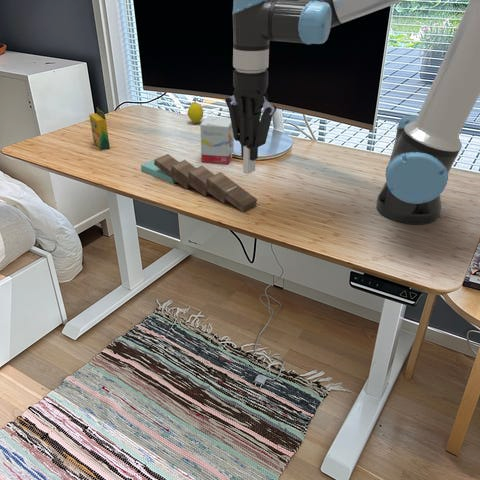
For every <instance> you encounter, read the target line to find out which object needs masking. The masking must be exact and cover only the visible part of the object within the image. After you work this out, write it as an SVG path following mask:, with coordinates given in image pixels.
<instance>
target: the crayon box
mask: <svg viewBox="0 0 480 480" xmlns="http://www.w3.org/2000/svg"><path fill="white" fill-rule="evenodd" d="M88 115H89V116H88V117H89V121H90V127H91V133H92V140H93V144H95V146H96V147H98V148H99V149H100V150H101V151H106V150H110V149H111V146H110V140H109V133H108V125H107V120H106V119H107V118H106V115H105V113H104V112H103V111H102V110H101V109H99V107H96V113H89V114H88Z"/></svg>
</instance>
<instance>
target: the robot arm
mask: <svg viewBox="0 0 480 480" xmlns="http://www.w3.org/2000/svg"><path fill="white" fill-rule="evenodd" d="M404 1H406V0H233V1H232V2H233V4H232V5H233V6H232V29H233V31H232V32H233V34H232V35H233V37H232V38H233V40H232V41H233V45H232V46H233V47H232V49H233V50H232V54H233V55H232V67H233V69H234V70H233V71H232V72H233V73H232V75H233V76H232V77H233V78H232V82H233V85H232V87H234V91H233V95H231V96H228V97H226V98H225V100H224V101H225V103H226V106H227V108H228V113H229V118H230V119H231V124H232V130H233V135H234V141H235V142H239V144H240V145H241V146H240V147H241V148H240V149H241V150H240V155H241V158H243V159H242V160H243V164H242V173H243V174H247V175H249V174H252V173H253V172H254V171H256V160H258V158H259V157H258V155H259V154H258V153H259V147H262V146H264V145H265V144H266V143H267V139H268V135H269V131H270V126H271V123H272V118H273V116H274V114H275V112H276V110H277V106H276V105H272V104H271V103H270V102H269V101H268V99H269V98H268V94H267V89H268V87H269V71H268V68H269V64H270V63H269V59H270V56H269V55H270V41H271V42H286V43H295V44H298V43H299V44H305V45H309V46H310V45H312V44H313V45H314V44H315V45H321V44H324V43H325V42H326V41H328V39H329V35H330V32H331V29H332V28H333V27H334V28H335V27H336V26H339V25H341V24H344V23H346V22H350V21H352V20H355V19H357V18H360V17H363V16H366V15H369V14H372V13H374V12H377V11H379V10H383V9H385V8H387V7H390V6H394V5H395V4H396V5H397V4H398V3H402V2H404ZM479 96H480V0H469V1H468V4H467V6H466V8H465V10H464V12H463V15H462V17H461V19H460V22H459V23H458V26H457V28H456V30H455V32H454V35H453V37H452V39H451V41H450V43H449V46H448V48H447V50H446V52H445V55H444V57H443V59H442V62H441V63H440V66H439V69H438V70H437V72H436V75H435V78H434V79H433V81H432V84H431V86H430V89H429V91H428V93H427V95H426V97H425V99H424V102H423V104H422V106H421V108H420V111H419V113H418V114H417V115H406V116H402V117H401V118H400V119H399V120H398V123H397V124H398V125H397V126H396V134H395V139H394V144H393V148H392V151H391V155H390V158H389V162H388V164H387V166H386V169H385V183H384V185H383V187H382V188H381V190H380V191H379V194H378V195H377V198H376V205H375V206H376V210H377V211H378V212H379V213H380V214H381V215H382V216H384V217H385V218H387V219H390V220H392V221H396V222H399V223H402V224H411V225H424V224H423V223H426V224H430V223H432V222H431V221H433V222H434V220H435V221H437V220H438V219H439V217H440V214H441V210H442V201H441V194H442V193H443V192H444V190H445V189H446V187H447V185H448V181H449V172H450V171H451V169H452V167H453V165H454V163H455V161H456V159H457V157H458V155H459V153H460V151H461V150H462V147H463V144H462V141H461V139H460V137H459V135H460V134H461V131H462V130H463V128H464V126H465V124H466V122H467V120H468V118H469V116H470V115H471V112H472V110H473V108H474V106H475V105H476V103H477V101H478V99H479ZM437 218H438V219H437ZM429 222H430V223H429Z"/></svg>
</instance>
